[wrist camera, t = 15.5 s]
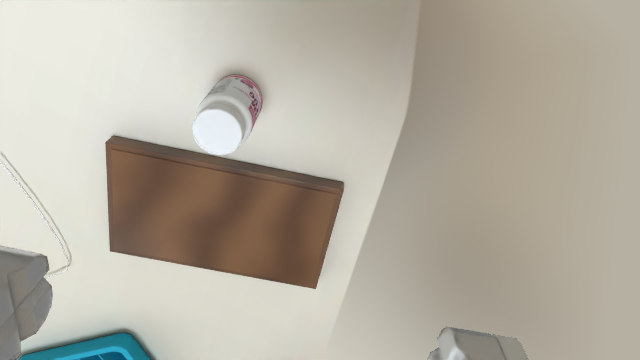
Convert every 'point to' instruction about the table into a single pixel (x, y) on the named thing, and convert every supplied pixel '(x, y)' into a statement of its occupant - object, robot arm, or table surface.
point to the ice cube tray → (95, 350)
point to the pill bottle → (227, 115)
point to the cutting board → (218, 212)
